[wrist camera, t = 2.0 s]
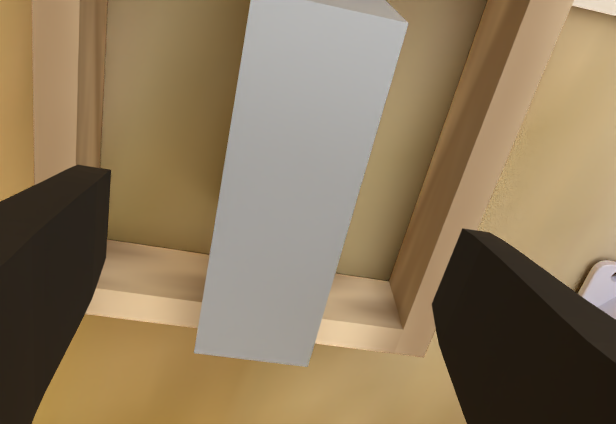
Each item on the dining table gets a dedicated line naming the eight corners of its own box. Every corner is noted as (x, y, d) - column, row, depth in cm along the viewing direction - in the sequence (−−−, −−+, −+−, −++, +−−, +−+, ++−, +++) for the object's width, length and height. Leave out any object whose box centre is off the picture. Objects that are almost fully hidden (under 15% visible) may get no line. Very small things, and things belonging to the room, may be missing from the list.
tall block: (355, -29, 18) (408, 22, 11) (296, 216, 22) (308, 367, 15) (260, -52, 17) (252, -12, 10) (219, 204, 22) (194, 353, 15)
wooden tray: (662, -362, 14) (788, -443, 11) (407, 307, 24) (430, 376, 21) (75, -570, 12) (-5, -756, 9) (63, 258, 22) (25, 327, 19)
